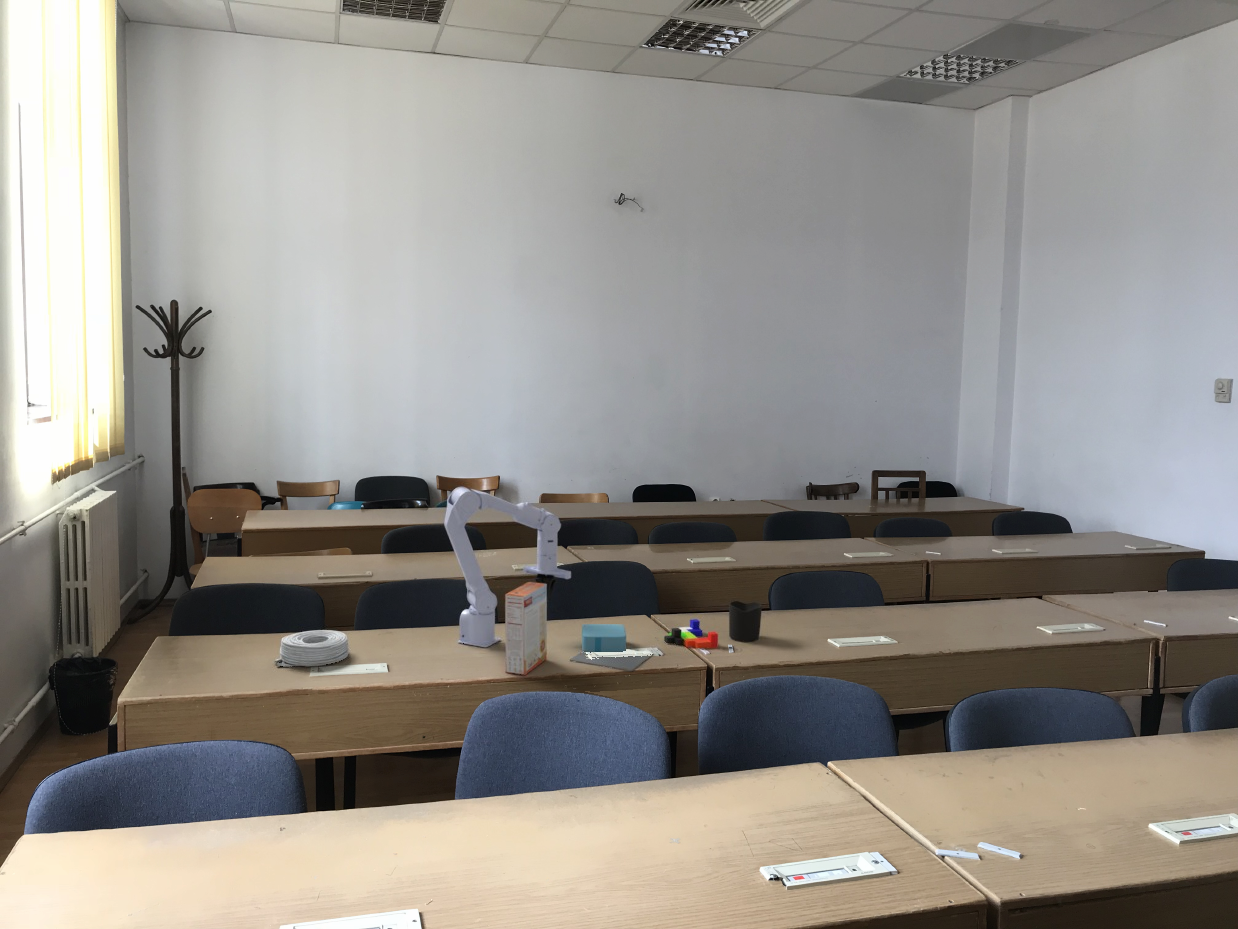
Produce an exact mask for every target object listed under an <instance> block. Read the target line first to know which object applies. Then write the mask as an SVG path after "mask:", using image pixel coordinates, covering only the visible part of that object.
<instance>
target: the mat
mask: <svg viewBox="0 0 1238 929" xmlns="http://www.w3.org/2000/svg"><path fill="white" fill-rule="evenodd" d="M590 653H591V652H590ZM585 655H588V654H586V653H584V652H583V653H581V652H579V653H577V654H576V655H574V656H573V657H571V658H570V659H569V660H570V661H569V662H573V661H576V662H575V663H579V662H583V663H582V664H585V663H587V664H586V665H591V664H593V665H592V666H597V665H598V666H597V667H603V666H605V667H604V668H609V667H612V668H611V669H615V668H618V669H617V670H621V669H623V670H622V671H628V672H633V671H635V670H636V669H637V668H638V667H639V666H640V664H641V663H642V662H643V663H644V662H645V660H646V659H647V658H648V659H650V658H651V657H650V656H648V655H647V656H642V657H641V656H635V657H633V656H628V657H624V656H623V657H616V658H615V657H603V656H602V657H597V658H599V659H597V658H596V657H592V658H595V659H592V660H591V659H586V658H588V657H586V656H585ZM650 655H651V654H650ZM649 657H650V658H649ZM648 659H647V660H648ZM647 660H646V661H647ZM643 663H642V664H643ZM642 664H641V665H642ZM637 666H638V667H637ZM636 667H637V668H636Z"/></svg>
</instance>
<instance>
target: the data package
mask: <svg viewBox="0 0 1238 929" xmlns="http://www.w3.org/2000/svg"><path fill="white" fill-rule="evenodd" d="M581 647H582V648H581V650H582V651H584V652H623V651H626V648H627V633H626V627H625V625H624V624H620V623H619V624H617V623H616V624H613V623H612V624H611V623H610V624H609V623H607V624H606V623H603V624H602V623H585V624H582V625H581Z"/></svg>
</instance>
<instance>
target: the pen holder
mask: <svg viewBox="0 0 1238 929" xmlns="http://www.w3.org/2000/svg"><path fill="white" fill-rule="evenodd" d="M728 604H729V606H728V609H729V610H728V614H729V615H728V622H729V623H728V628H729V630H728V631H729V632H728V633H729V637H730V639H731V640H733V641H736V642H741V643H743V642H744V643H751V642H756V641H758V640H759V638H760V632H761V622H762V609H763V605H762V603H760V602H759V601H758V602H757V601H753V602H747V603H746V602H742V601H739V600H734V601H733V600H732V601H730V602H729V603H728Z"/></svg>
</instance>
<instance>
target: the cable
mask: <svg viewBox="0 0 1238 929" xmlns="http://www.w3.org/2000/svg"><path fill="white" fill-rule="evenodd" d="M349 648H350V647H349V640H348V636H347V634H346V633H344V632H342V631H339V630H330V629H328V630H327V629H322V630H321V629H317V630H307V631H302V632H301V631H300V632H296V633H292V634H289V635H286V636H284V637H282V638H281V641H280V649H279V658H277V659H274V661H273V662H274V663H275V664H276V663H277V664H276V667H279V666H283V667H282V668H291V667H290V666H305V667H317V666H318V667H319V666H327V665H326V664H328V665H332V664H331V663H333V664H336V663H335V662H337V663H340V662H342V661H343V659H344V660H345V659H346V658H347V657H348V656H349V653H350V650H349ZM341 660H342V661H341ZM339 661H340V662H339ZM279 662H280V663H279Z"/></svg>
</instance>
